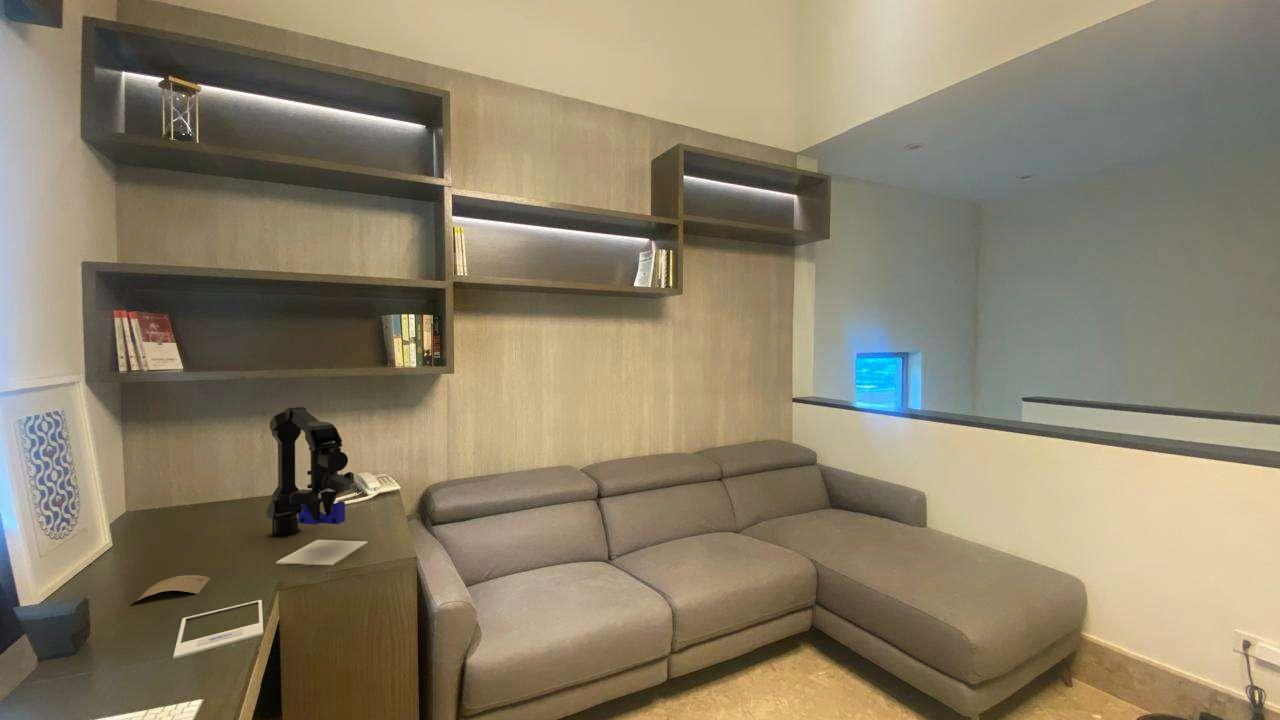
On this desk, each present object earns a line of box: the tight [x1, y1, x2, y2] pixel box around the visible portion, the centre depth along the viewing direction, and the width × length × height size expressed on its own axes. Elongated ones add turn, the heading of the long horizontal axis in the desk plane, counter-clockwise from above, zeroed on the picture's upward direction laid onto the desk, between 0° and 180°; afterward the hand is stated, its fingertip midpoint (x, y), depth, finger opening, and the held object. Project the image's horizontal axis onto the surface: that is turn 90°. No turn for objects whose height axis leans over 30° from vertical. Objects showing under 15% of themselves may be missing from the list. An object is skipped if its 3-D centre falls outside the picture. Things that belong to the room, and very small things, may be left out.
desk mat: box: [275, 539, 369, 566], centre depth 156 cm, size 17×17×1 cm
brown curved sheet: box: [133, 574, 211, 604], centre depth 131 cm, size 14×10×3 cm
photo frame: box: [172, 599, 264, 660], centre depth 115 cm, size 15×1×18 cm
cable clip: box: [297, 500, 346, 525], centre depth 155 cm, size 12×4×6 cm, turn 80°
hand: (322, 517), depth 155 cm, fingers closed on cable clip, 5 cm apart
